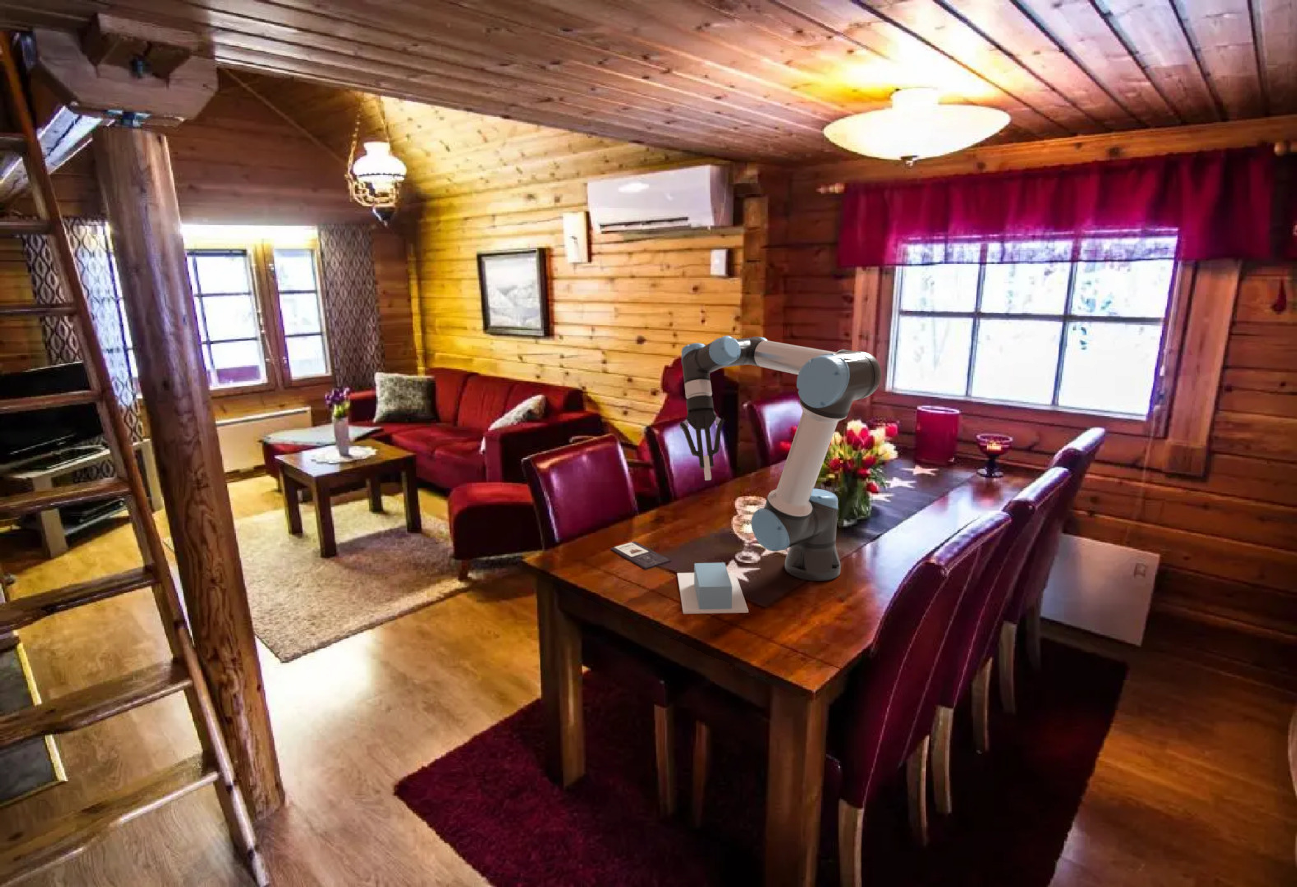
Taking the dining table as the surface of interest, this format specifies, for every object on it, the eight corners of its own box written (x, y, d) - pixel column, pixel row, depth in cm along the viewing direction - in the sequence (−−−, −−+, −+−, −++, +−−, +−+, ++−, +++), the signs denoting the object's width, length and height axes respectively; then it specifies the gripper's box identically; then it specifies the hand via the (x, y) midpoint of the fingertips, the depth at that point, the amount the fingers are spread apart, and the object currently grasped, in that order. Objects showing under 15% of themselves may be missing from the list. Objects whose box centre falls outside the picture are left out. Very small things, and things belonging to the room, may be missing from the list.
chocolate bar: (645, 568, 191) (610, 548, 205) (645, 571, 191) (610, 551, 205) (670, 560, 196) (634, 541, 210) (670, 563, 196) (634, 544, 210)
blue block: (724, 562, 179) (732, 586, 165) (724, 583, 180) (731, 608, 167) (694, 563, 179) (699, 587, 165) (694, 584, 180) (699, 609, 167)
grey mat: (735, 574, 188) (735, 572, 187) (748, 612, 166) (748, 610, 166) (677, 575, 187) (677, 573, 187) (683, 613, 166) (683, 611, 166)
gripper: (720, 399, 197) (729, 479, 192) (675, 403, 197) (684, 483, 192) (723, 392, 190) (733, 475, 185) (676, 396, 189) (685, 479, 185)
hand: (708, 479), depth 188 cm, fingers closed
